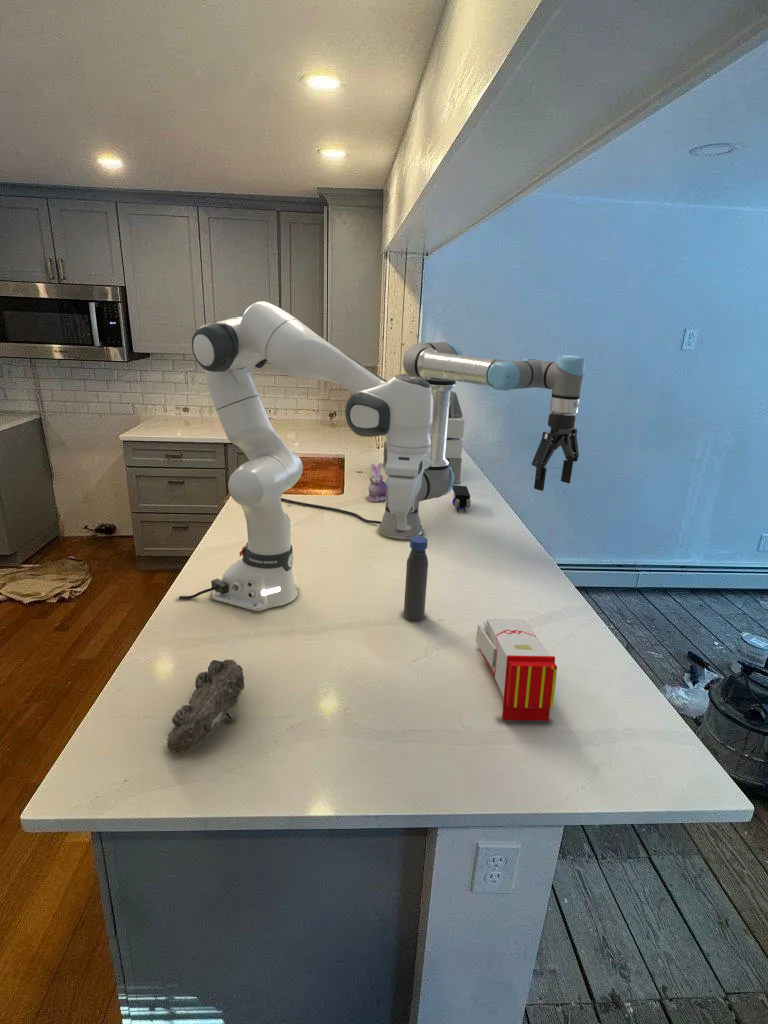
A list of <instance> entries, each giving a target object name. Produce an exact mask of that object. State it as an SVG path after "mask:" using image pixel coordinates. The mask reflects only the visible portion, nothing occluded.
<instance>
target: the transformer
mask: <svg viewBox="0 0 768 1024" xmlns="http://www.w3.org/2000/svg"><path fill="white" fill-rule="evenodd" d="M464 429H465V419H464V418H463V411H462V408H461V405H460V402H459V398H458V395H457V392H455V391H453V390H451V392H450V404H449V416H448V428H447V441H446V453H445V458H446V459H447V461H448V462H449V466H450V467H451V469H452V473H454V484H455V483H456V484H459V483H461V472H462V461H463V460H462V453H463V442H464V441H463V440H462V439H463V438H464V431H465V430H464ZM386 461H387V437H385V438H384V442H383V463H382V465H383V466H384V467H385V465H386Z"/></svg>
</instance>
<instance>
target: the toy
mask: <svg viewBox="0 0 768 1024" xmlns="http://www.w3.org/2000/svg"><path fill="white" fill-rule="evenodd" d="M476 629H477V631H476V638H475V642H476V645H477V646H478V648H479V650H480V652H481V654H482V656H483V658H484V660H485V661H486V664H487V666H488V668H489V669H490V671H491V672H492V675H493V676H494V679H495V681H496V685H497V686H498V688H499V690H500V692H501V695H502V697H503V701H502V712H501V720H502V721H521V722H523V721H526V722H528V721H529V722H550V712H551V709H554V702H555V692H556V681H557V673H558V665H557V664H556V656H555V655H550V654H549V652H548V651H547V650H546V648H545V647H544V645H543V644H542V642H541V641H540V639H539V638H538V637H537V635H536V634H535V632H534V631H533V629H532V627H531V625H530V624H528V623H527V621H526V619H521V618H518V619H515V618H513V619H512V618H486V620H484V621H483V626H482V625H481V624H477V628H476Z"/></svg>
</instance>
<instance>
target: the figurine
mask: <svg viewBox="0 0 768 1024" xmlns="http://www.w3.org/2000/svg"><path fill="white" fill-rule="evenodd" d="M382 468H383V463H382V462H380V463H378V465H377V466H376V465H375V464H374V463H371V465H370V469H371V470H370V471H371V472H370V474H369V481H370V483H369V485H368V496H367V499H368V501H369V502H373V503H374V502H375V503H377V502H384V501H386V481H384V480H383V479H384V476H383V474H382Z"/></svg>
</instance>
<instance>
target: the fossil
mask: <svg viewBox="0 0 768 1024" xmlns="http://www.w3.org/2000/svg"><path fill="white" fill-rule="evenodd" d="M243 670H244V669H243V667H242V665H240V664H237V662H236V661H235V660H234V659H232V658H231V659H227V658H226V659H224V660H223V661H222V660H217V659H212V660H211V661H210V663H209V665H208V666H207V671H201V672H199V673H198V674H197V675H196V676H195V680H194V684H195V685H194V687H195V689H194V690H193V693H192V694H191V697H190V698H189V700H188V704H184V705H182V706H181V707H180V709H177V710H176V711H175V713H174V715H173V716H172V718H171V723H172V724H173V727H172V730H171V731H170V732H168V734H167V738H166V741H167V742H166V745H167V749H168V750H169V751H173V752H174V753H176V754H178V753H182V752H188V751H189V752H192V751H193V750H195V748H196V747H197V746H199V744H200V743H201V742H203V741H204V740H205V739H206V738H207V737H208V736H209V735H210V734H211V733H212V732H214V730H215V729H217V727H218V726H219V724H220V722H221V721H222V720H223V719H224V718H225V716H226V717H227V719H229V720H233V717H232V715H230V714H229V710H230V709H231V708H234V706H235V704H236V703H237V702H238V699H239V697H240V695H241V693H242V691H243V690H245V689H244V688H245V675H244V671H243Z"/></svg>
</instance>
